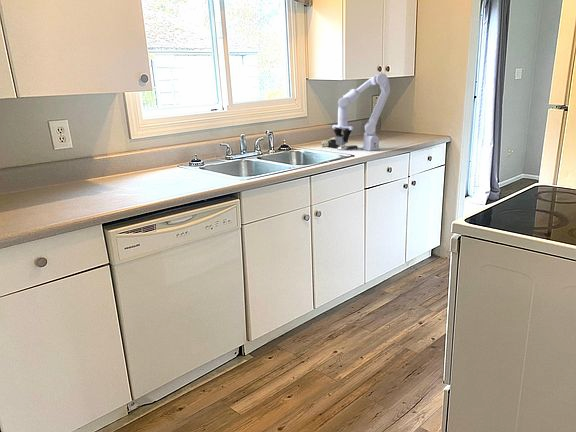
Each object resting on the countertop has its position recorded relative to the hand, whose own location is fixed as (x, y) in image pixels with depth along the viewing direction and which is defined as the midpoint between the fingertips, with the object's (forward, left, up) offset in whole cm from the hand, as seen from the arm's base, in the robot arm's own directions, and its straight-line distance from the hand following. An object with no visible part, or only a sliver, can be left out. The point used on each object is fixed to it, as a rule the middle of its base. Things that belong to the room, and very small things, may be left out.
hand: (342, 141), depth 280 cm
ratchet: (0, -3, -5) cm, 6 cm away
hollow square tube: (0, 0, -1) cm, 1 cm away
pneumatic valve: (+17, +6, -3) cm, 18 cm away
